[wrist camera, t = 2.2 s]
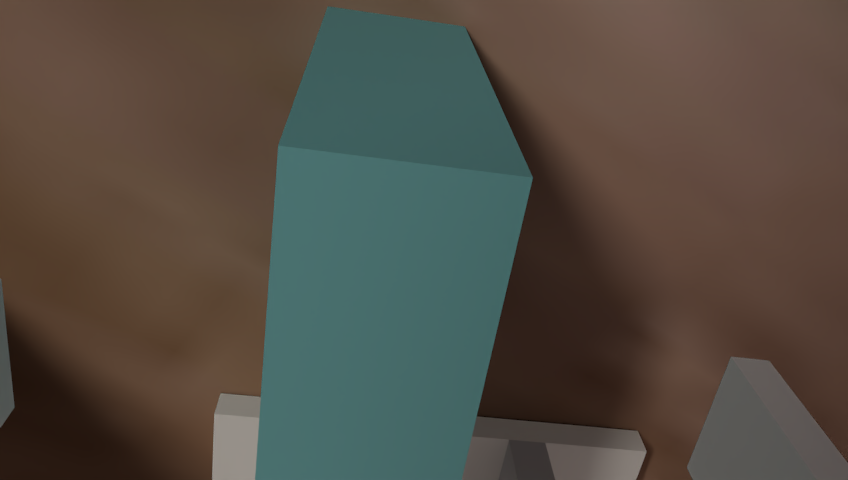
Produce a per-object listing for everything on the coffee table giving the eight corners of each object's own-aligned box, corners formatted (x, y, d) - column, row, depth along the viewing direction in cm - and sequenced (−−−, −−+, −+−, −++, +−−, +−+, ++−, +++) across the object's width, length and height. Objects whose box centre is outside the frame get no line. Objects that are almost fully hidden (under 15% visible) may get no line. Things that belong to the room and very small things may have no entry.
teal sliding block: (327, 6, 19) (278, 145, 10) (465, 26, 19) (532, 177, 10) (299, 307, 23) (247, 596, 14) (413, 319, 23) (431, 608, 15)
